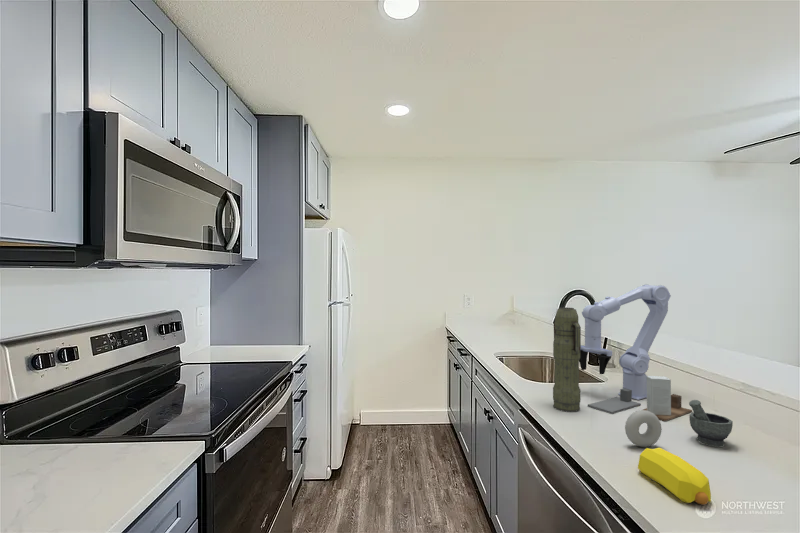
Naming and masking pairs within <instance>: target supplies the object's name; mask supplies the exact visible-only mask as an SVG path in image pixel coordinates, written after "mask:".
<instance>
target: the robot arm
mask: <svg viewBox="0 0 800 533" xmlns="http://www.w3.org/2000/svg"><path fill="white" fill-rule="evenodd" d="M671 297H672V295H671V294H670V292H669V289H668V288H667V286H665V285H661V284H659V285H655V284H642V285H640V286H637V287H636V288H634V289H631V290H629V291H627V292H625V293H624V294H621V295H619V296H618V297H614V296H605V298H604V299H603V300H600V301H594V304H587V305H586V306H584V308H583V309H582V311H581V315H582V317H583V319H584V345H582V344H581V348H580V360H579V367H580V370H582V371H584V370H587V362H588V359H587V358H588V355H589V353H592V354H597V360H598V372H599V374H600V375H605V373H606V369H607V366H608V364H609V362H610V360H611V358H612V356H613V350H609V349H606V348H602V320H603V319H604V318H605V317H606V316H607V315H610V314H613V313H615V312H618V311H619V310H620V309H621V306H623V305H624V306H625V305H627V304H629V303H632V302H634V301H638V300H640V299H641V300H642V301H643V302H644V303H645V305H646V306H647V307H648V309H649V312H648V313H647V316H646V318H645V320H644V321H643V324H642V325H641V328H640V330H639V332H638V334H637V336H636V338H635V339H634V342H633V344H632V346H630V347H629V348H627V349H626V350H625V352H624V353H622V354H621V355H620V357H619V359H618V360H619V361H618V362H619V363H618V364H619V365H620V367H621V368H622V389H624V388H626V389H630V390H632V400H638V401H639V400H643V399H647V376H648V375H647V374H646V373H647V372H648V370H649V363H650V360H651V357H650V355H649V351H650V349H651V347H652V345H653V343H654V341H655V338H656V337H657V334H658V333H659V330H660V329H661V326H662V324H663V323H664V320H665V319H666V317H667V314H668V311H669V300H670V298H671ZM617 395H618V396H620V392H618V393H617Z"/></svg>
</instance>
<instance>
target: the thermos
mask: <svg viewBox="0 0 800 533" xmlns="http://www.w3.org/2000/svg"><path fill="white" fill-rule="evenodd" d="M554 317H555V318H554V322H553V343H552V350H553V352H552V356H553V359H554V384H553V387H552V399H553V404H552V405H553V408H554V409H555V408H556V409H555V410H558V411H561V410H562V411H561V412H566V411H567V413H574V412H575V413H576V412H579V411H581V407H580V405H581V388H580V383H579V382H580V381H579V380H580V378H579V377H580V374H579V372H580V371H579V370H580V362H579V360H580V348H581V345H582V344H581V342H582V341H581V340H582V339H581V338H582V336H581V335H582V331H581V325H580V322H579V315H578V312H577V309H575V308H574V307H559V308H557V309H556V313H555V315H554Z"/></svg>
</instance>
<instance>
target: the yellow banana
mask: <svg viewBox="0 0 800 533" xmlns="http://www.w3.org/2000/svg"><path fill="white" fill-rule="evenodd" d="M637 469H638V470H639V471H640V472H641V473H642V474H643V475H644V476H646V477H648V478H649V479H651V480H653V481H654V482H656V483H658V484H659V485H661V486H663V487H664V488H665V489H667V491H668V492H670V493H671V494H673V495H674V496H675V497H676V498H677V499H679V500H680V501H681V502H682V503H685V504H686V503H687V504H689V503H690V504H691V503H692V502H695V503H696V504H698V505H705V506H706V505H707V504H708V502H711V501H712V492H711V487H710V480H709V478H708V477H707V476H706V475H705V473H703V472H702V471H701V470H699V469H698V468H696V466H693V465H692V464H690V463H689V462H688V461H686V460H685V459H684V458H682V457H680V456H678V455H676V454H674V453H671V452H670V451H667V450H666V449H664V448H661V447H655V448H648V447H645V449H644V450H643V451H642V452H641V453H640V454H639V458H638V465H637Z"/></svg>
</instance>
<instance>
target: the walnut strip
mask: <svg viewBox="0 0 800 533" xmlns="http://www.w3.org/2000/svg"><path fill="white" fill-rule="evenodd" d="M642 410H646V411H647V407H645V408H644V409H642ZM692 412H693V409H688V408H685V407H682V395H678V394H675V393H673V394H672V393H671V416H669V415H656V416H657V417H658V419H659V421H663V422H668V421H670V420H673V419H677V418H678V417H681V416H685V415H687V414H691V413H692Z"/></svg>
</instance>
